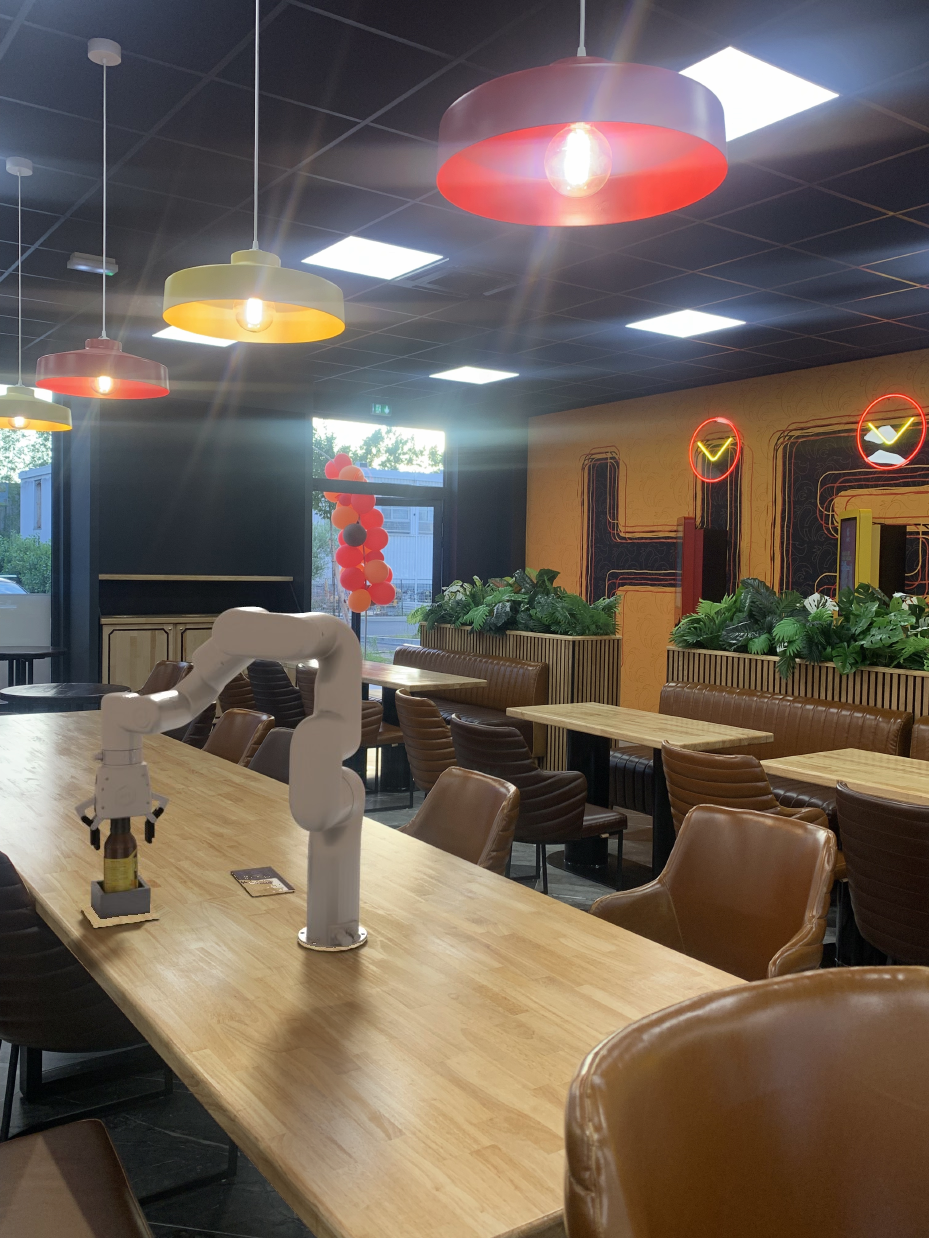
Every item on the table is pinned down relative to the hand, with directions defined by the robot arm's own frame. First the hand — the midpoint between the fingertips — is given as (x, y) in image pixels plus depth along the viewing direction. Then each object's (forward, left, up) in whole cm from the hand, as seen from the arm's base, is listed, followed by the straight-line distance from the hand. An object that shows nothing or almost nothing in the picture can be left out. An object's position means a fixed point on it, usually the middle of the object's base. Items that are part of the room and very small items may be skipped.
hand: (122, 845), depth 192 cm
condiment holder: (0, 0, -14) cm, 14 cm away
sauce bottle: (0, 0, -13) cm, 13 cm away
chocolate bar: (+8, -31, -14) cm, 35 cm away
